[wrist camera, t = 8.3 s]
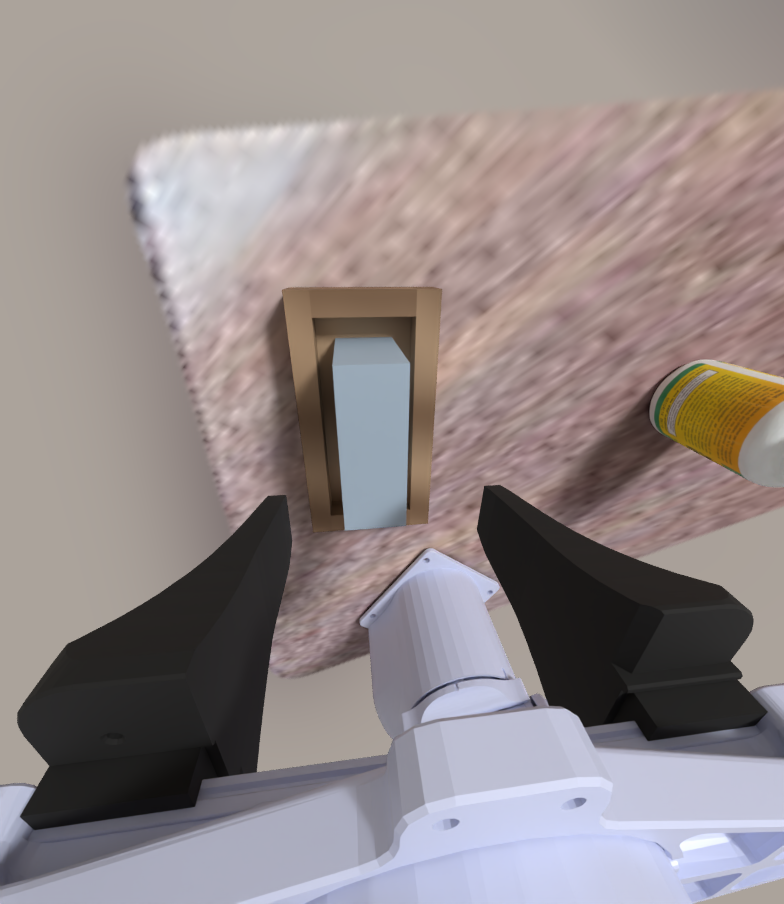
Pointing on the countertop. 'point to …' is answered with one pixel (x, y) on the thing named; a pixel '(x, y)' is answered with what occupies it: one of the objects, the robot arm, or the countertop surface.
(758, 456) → the supplement bottle
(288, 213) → the countertop surface
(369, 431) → the grey rectangular block
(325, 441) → the wooden tray
